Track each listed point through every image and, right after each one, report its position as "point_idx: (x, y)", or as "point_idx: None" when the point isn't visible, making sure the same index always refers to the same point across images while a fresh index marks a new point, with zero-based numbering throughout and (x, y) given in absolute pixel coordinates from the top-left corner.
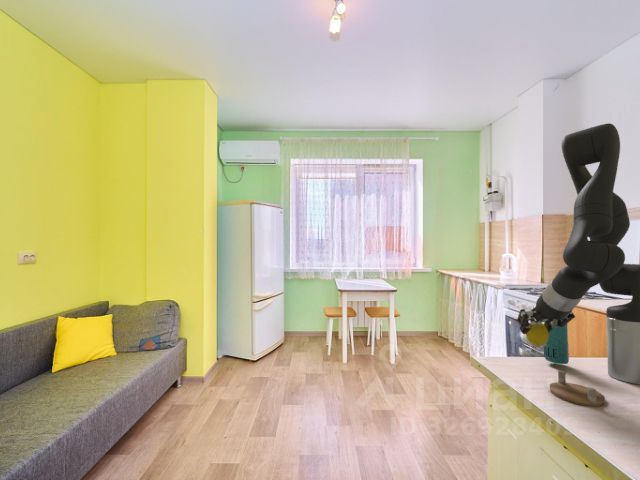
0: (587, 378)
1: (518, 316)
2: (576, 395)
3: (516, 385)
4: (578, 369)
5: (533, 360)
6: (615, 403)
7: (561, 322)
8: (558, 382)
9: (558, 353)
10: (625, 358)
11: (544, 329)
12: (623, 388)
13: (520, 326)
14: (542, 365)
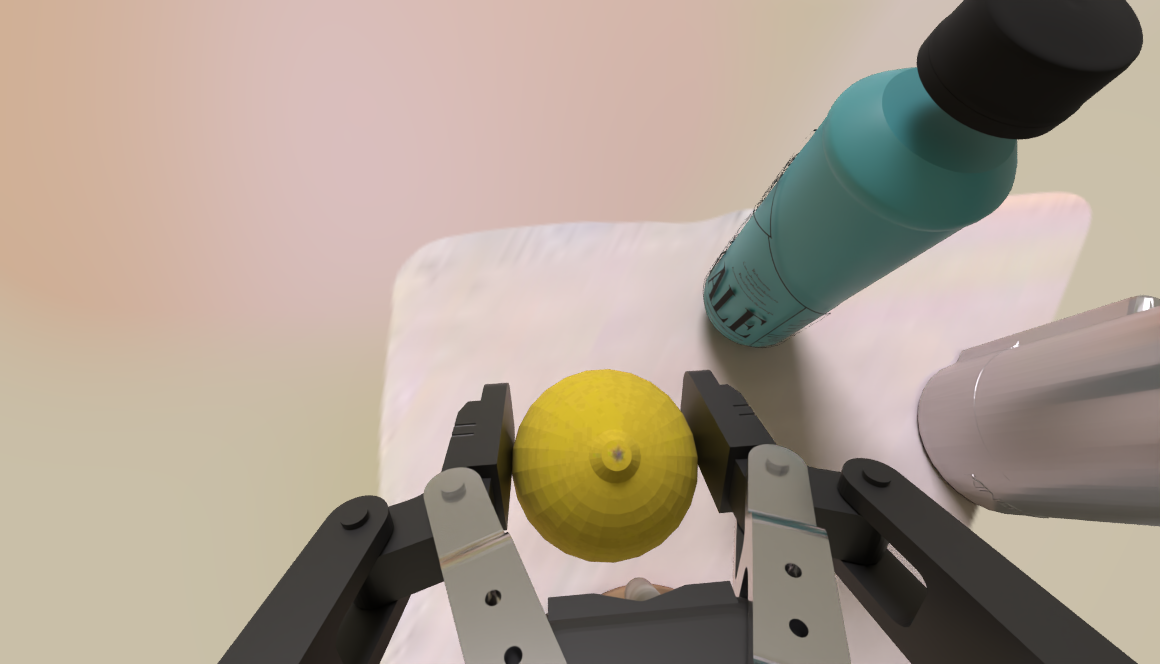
0: (805, 461)
1: (262, 613)
2: None
3: (407, 613)
4: (815, 351)
5: (661, 259)
6: None
7: (873, 598)
8: (623, 593)
9: (763, 328)
10: (1080, 494)
11: (647, 548)
12: (910, 567)
13: (453, 431)
14: (673, 319)
